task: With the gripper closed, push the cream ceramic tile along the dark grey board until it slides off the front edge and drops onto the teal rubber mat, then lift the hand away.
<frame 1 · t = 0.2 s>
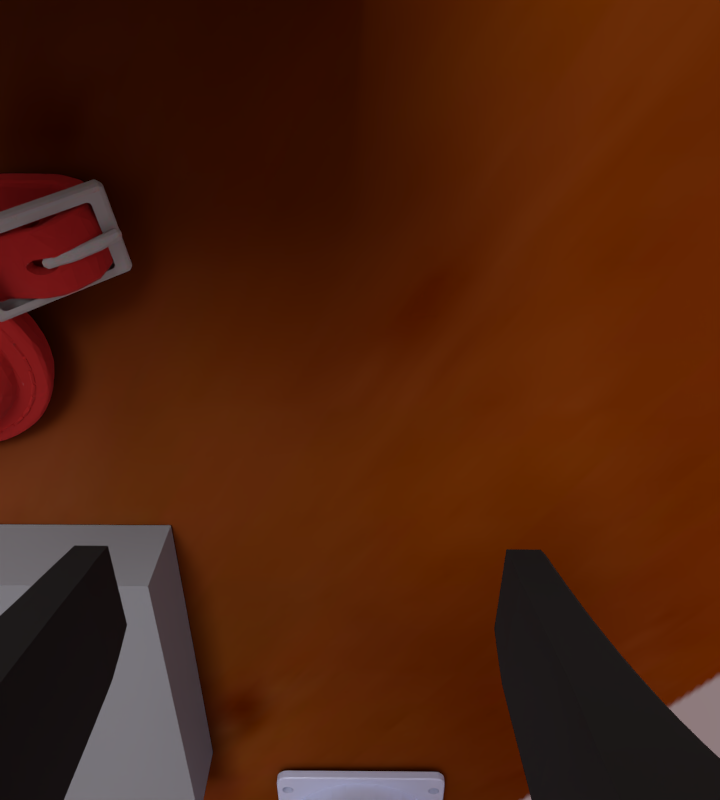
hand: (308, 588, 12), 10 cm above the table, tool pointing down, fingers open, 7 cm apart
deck: (16, 652, 28), on the table
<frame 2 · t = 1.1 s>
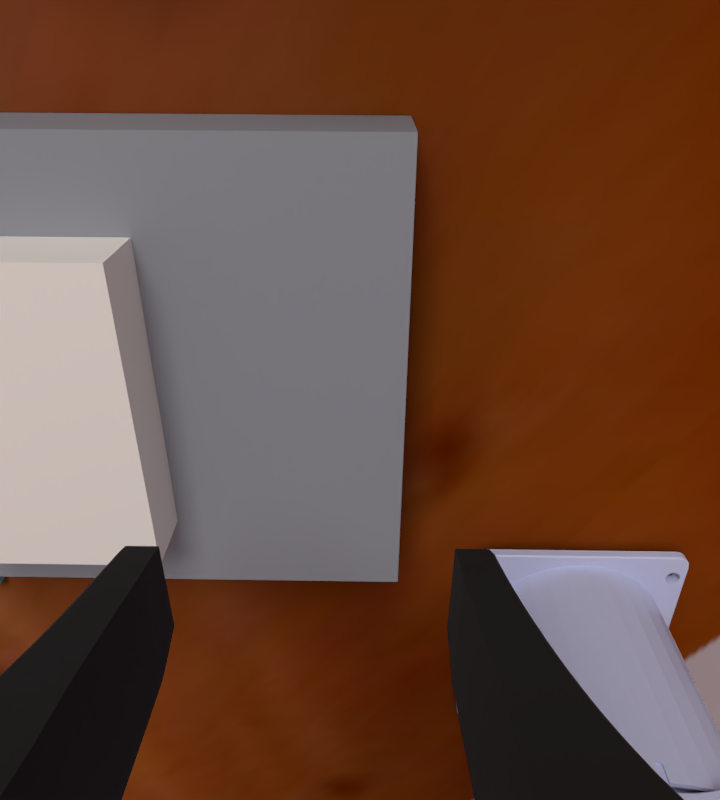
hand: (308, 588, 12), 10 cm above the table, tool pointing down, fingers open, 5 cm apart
tile: (50, 394, 19), point 3 cm above the table, touching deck
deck: (167, 349, 21), on the table
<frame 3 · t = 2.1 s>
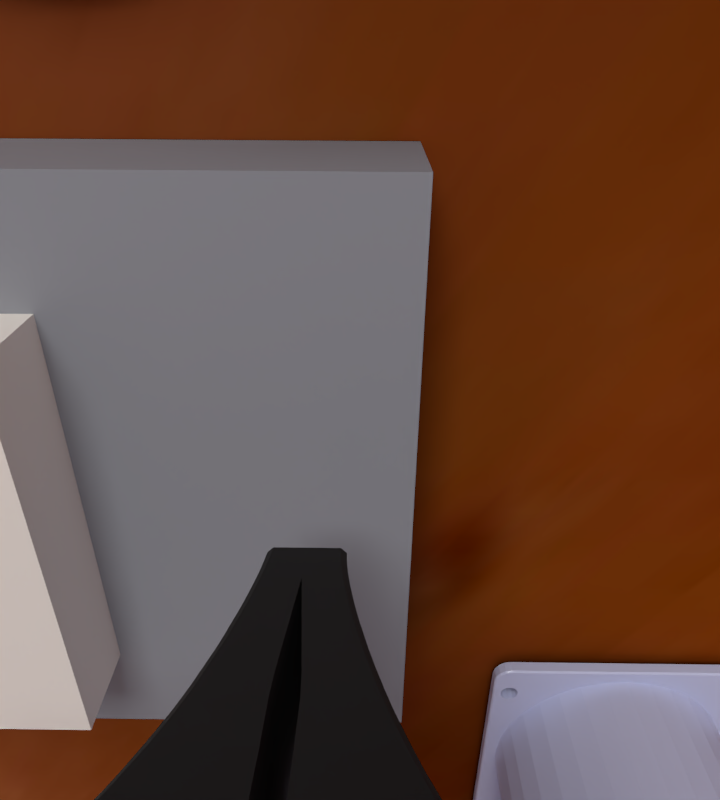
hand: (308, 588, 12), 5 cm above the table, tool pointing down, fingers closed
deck: (107, 434, 17), on the table
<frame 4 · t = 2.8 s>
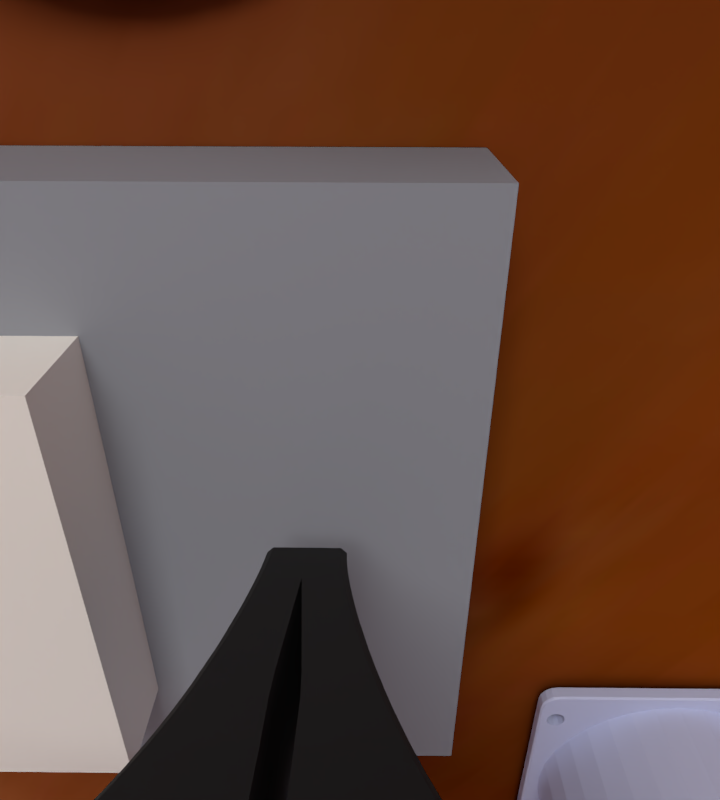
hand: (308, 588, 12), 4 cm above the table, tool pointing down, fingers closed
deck: (143, 455, 16), on the table
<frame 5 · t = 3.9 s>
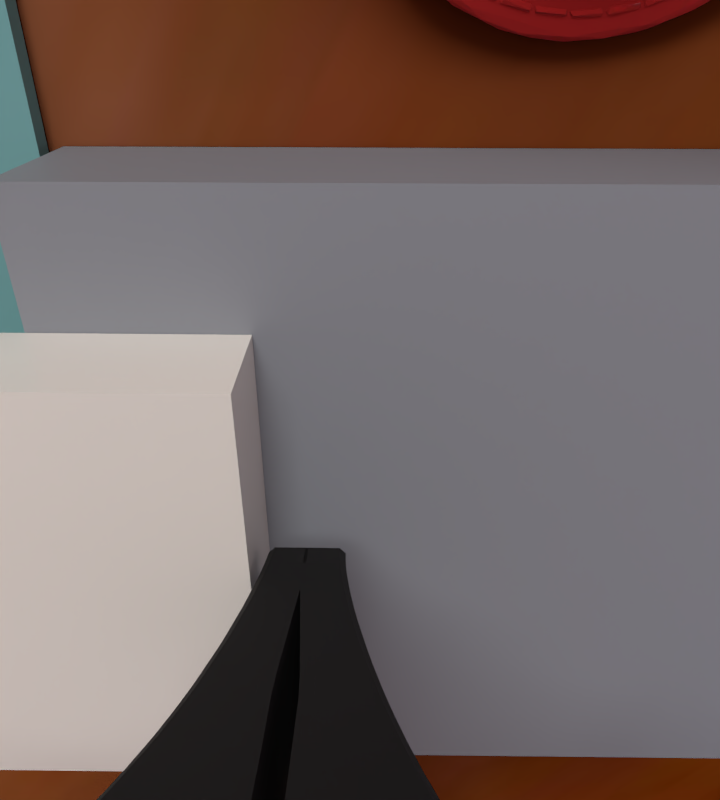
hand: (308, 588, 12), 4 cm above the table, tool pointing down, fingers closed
tile: (118, 540, 13), point 3 cm above the table
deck: (441, 457, 16), on the table
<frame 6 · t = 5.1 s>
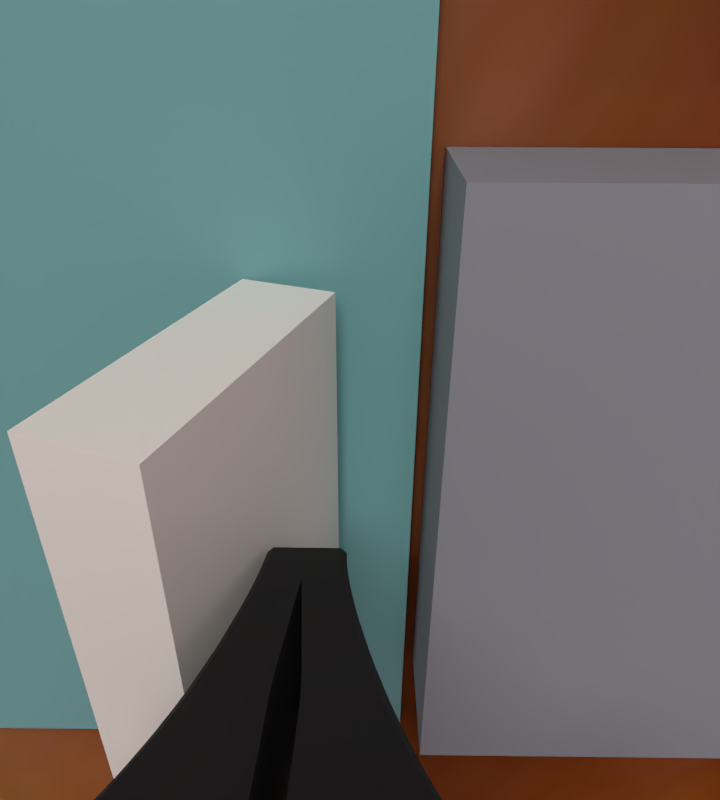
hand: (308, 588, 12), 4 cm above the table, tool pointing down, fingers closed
mat: (119, 454, 16), on the table
tile: (277, 573, 13), point 4 cm above the table, tilted 110°, touching mat
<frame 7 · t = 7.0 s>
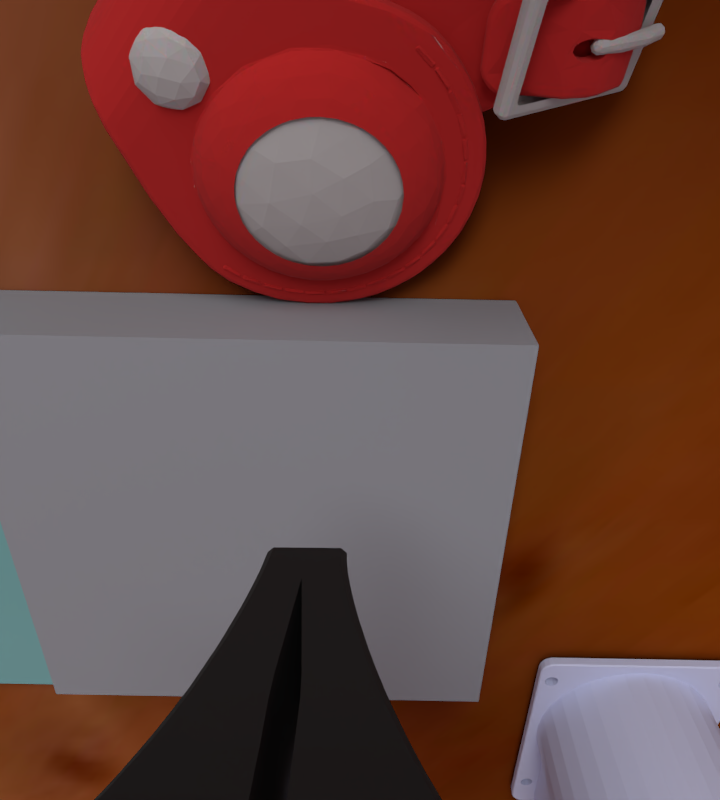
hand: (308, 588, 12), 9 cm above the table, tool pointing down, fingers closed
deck: (268, 488, 23), on the table
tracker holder: (376, 112, 17), on the table
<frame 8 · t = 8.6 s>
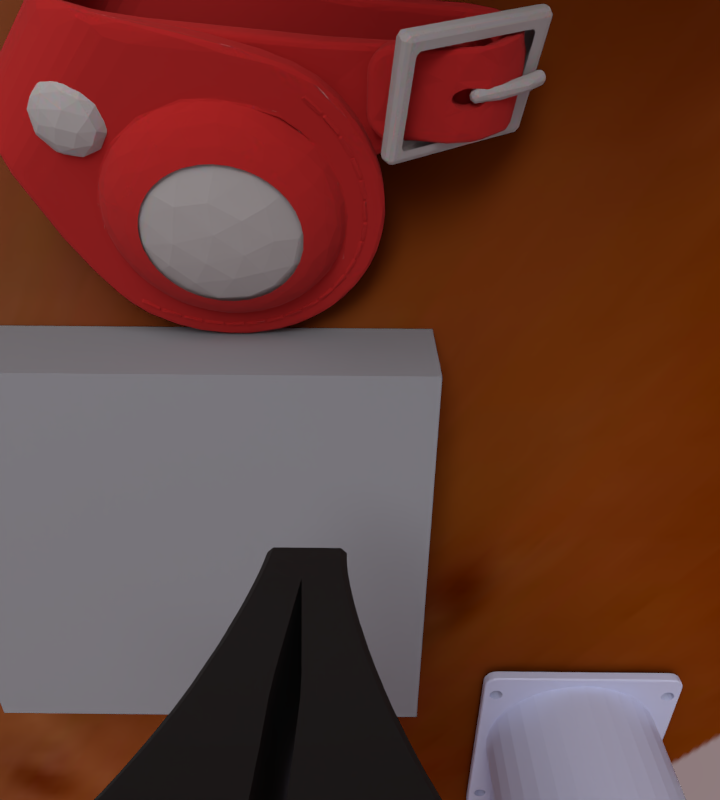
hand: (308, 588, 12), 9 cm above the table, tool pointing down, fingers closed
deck: (206, 511, 23), on the table
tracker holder: (287, 150, 18), on the table
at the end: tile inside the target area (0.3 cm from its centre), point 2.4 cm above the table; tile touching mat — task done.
